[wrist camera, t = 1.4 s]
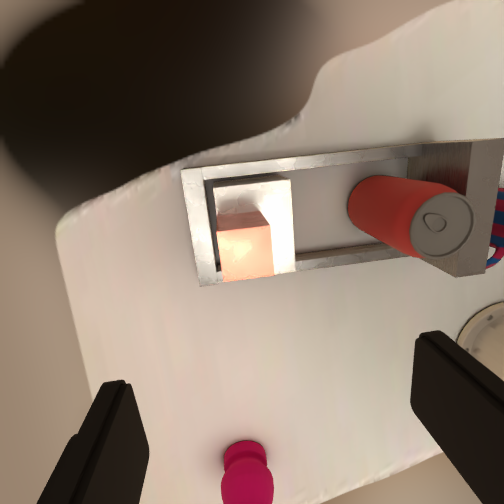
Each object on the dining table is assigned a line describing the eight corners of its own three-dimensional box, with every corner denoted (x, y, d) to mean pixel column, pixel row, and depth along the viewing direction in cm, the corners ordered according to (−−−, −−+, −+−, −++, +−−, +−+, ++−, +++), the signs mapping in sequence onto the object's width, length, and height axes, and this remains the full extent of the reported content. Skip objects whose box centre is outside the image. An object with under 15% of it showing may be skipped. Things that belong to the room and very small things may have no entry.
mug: (518, 216, 38) (578, 229, 32) (451, 267, 40) (496, 290, 33) (495, 175, 36) (555, 180, 30) (426, 230, 38) (469, 247, 31)
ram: (278, 174, 33) (308, 186, 22) (283, 252, 36) (313, 298, 25) (214, 181, 33) (211, 197, 21) (224, 260, 36) (227, 310, 24)
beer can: (366, 163, 34) (440, 169, 23) (410, 191, 36) (499, 210, 24) (334, 215, 36) (388, 244, 24) (378, 240, 37) (448, 278, 26)
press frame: (434, 141, 34) (506, 137, 26) (425, 246, 38) (484, 273, 30) (183, 168, 32) (171, 174, 24) (201, 276, 36) (196, 313, 28)
